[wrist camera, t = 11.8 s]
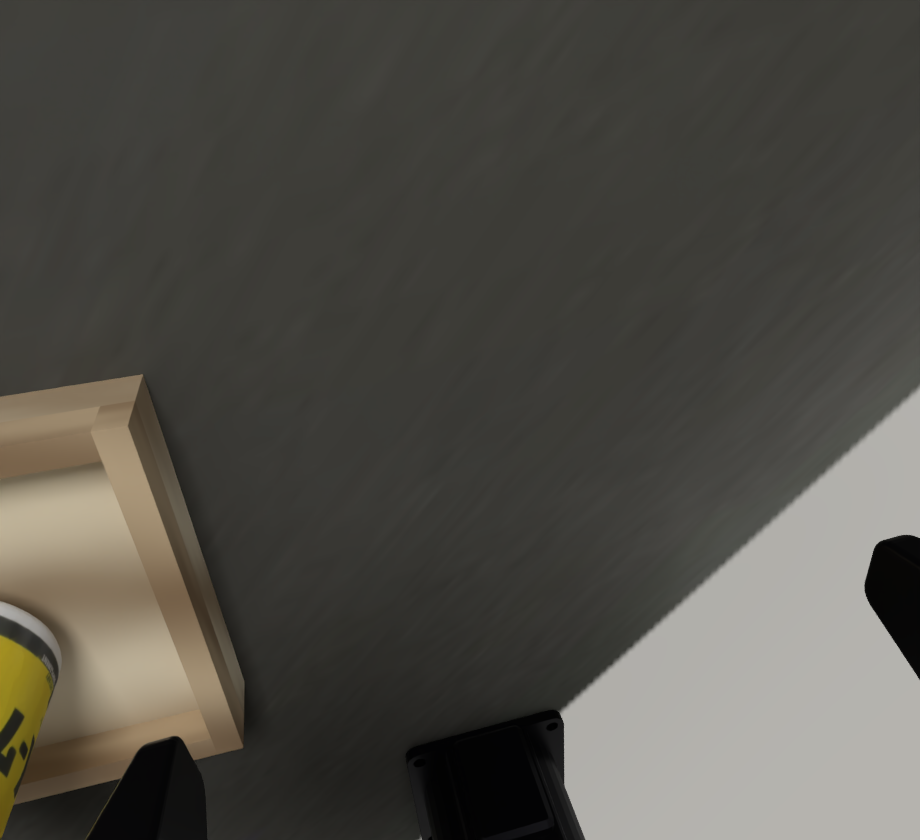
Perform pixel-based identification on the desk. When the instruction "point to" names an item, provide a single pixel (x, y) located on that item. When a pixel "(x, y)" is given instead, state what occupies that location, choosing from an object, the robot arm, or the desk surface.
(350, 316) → the desk surface
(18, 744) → the supplement bottle
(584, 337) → the desk surface
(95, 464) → the wooden tray
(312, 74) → the desk surface
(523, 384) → the desk surface
